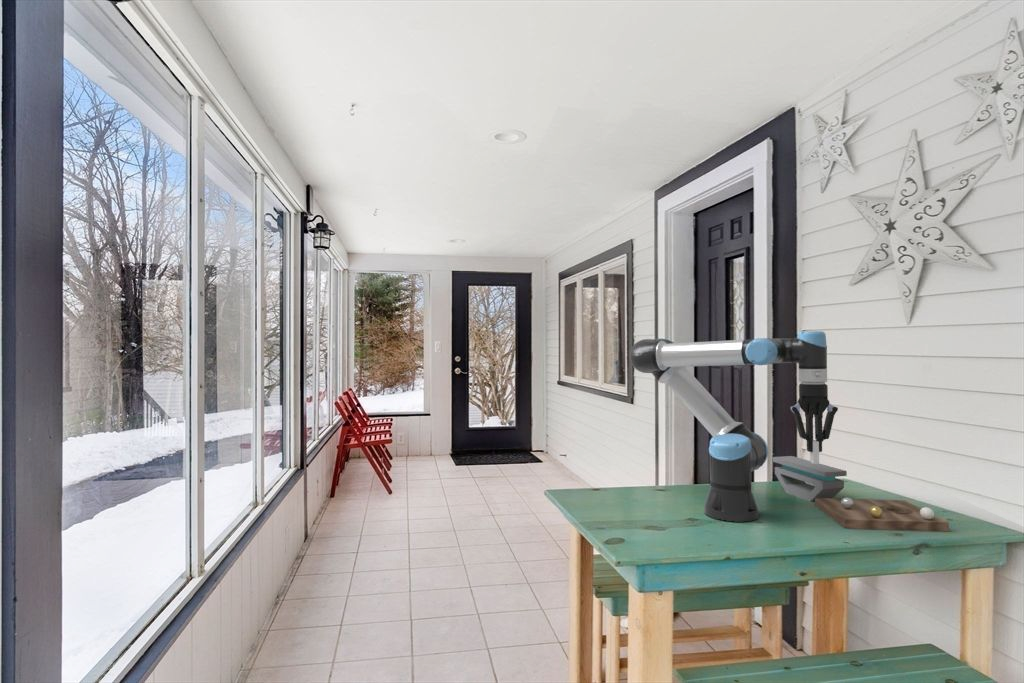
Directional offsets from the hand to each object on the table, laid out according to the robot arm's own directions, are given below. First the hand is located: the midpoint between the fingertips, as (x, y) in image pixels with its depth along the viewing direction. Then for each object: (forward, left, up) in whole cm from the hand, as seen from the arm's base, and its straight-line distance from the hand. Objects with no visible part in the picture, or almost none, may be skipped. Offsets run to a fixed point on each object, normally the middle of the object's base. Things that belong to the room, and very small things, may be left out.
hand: (814, 462), depth 170 cm
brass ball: (+13, -8, -12) cm, 19 cm away
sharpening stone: (+6, +23, -16) cm, 29 cm away
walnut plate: (+17, 0, -16) cm, 23 cm away
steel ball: (+9, 0, -12) cm, 15 cm away
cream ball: (+26, -8, -12) cm, 29 cm away
